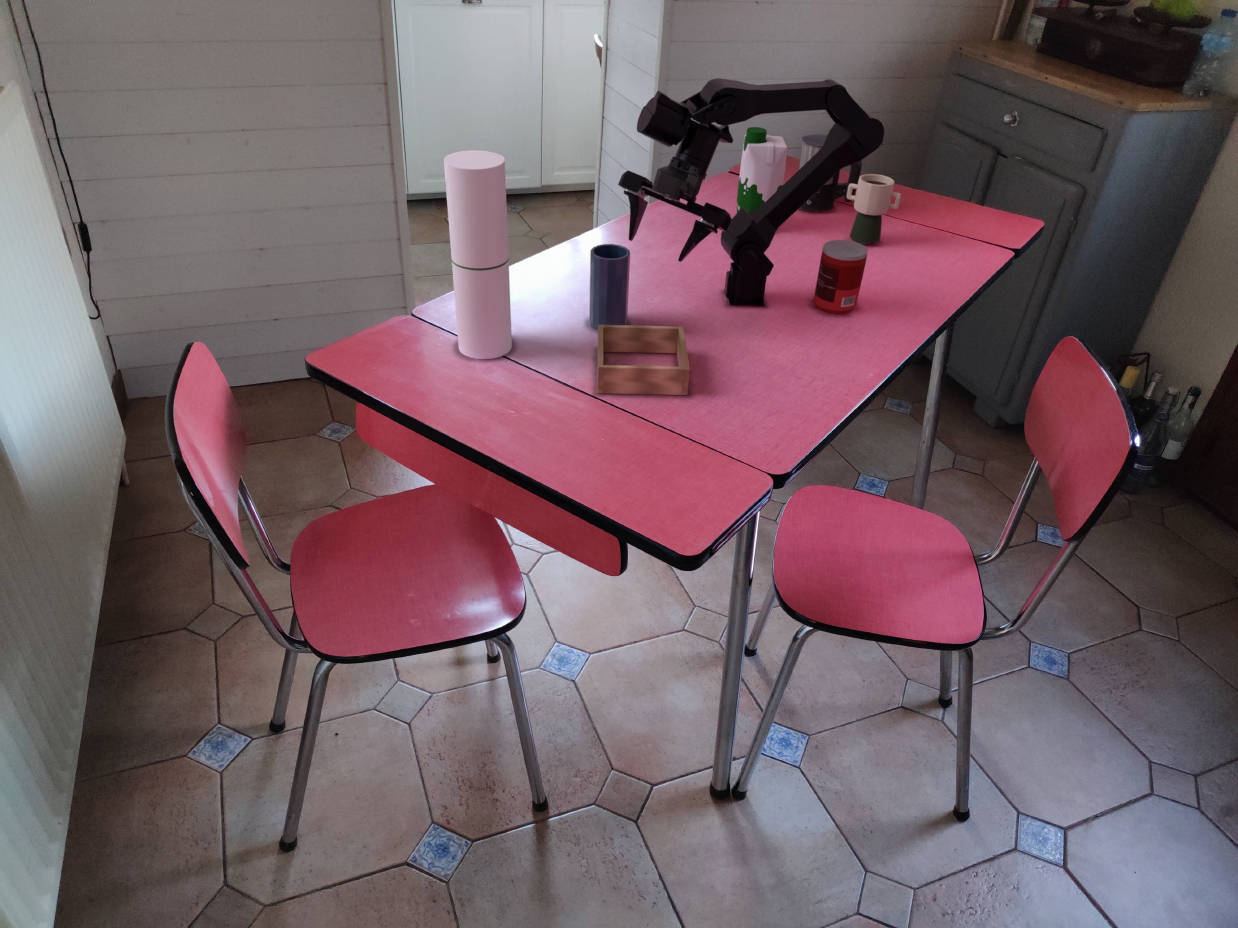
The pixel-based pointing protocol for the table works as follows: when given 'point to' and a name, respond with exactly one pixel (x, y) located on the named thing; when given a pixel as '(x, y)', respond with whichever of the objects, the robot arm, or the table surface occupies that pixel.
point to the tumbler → (609, 285)
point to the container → (479, 251)
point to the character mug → (871, 206)
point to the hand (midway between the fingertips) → (654, 251)
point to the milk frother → (832, 188)
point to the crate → (642, 377)
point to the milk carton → (760, 168)
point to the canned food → (840, 276)
